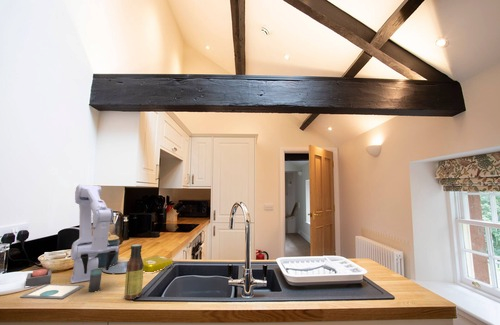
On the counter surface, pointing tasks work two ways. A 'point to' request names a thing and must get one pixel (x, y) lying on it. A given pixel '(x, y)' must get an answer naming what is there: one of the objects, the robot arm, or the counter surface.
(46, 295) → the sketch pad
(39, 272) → the button
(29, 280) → the button housing
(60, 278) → the counter surface
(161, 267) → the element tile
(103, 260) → the canister
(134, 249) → the sauce bottle
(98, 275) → the dark piece
